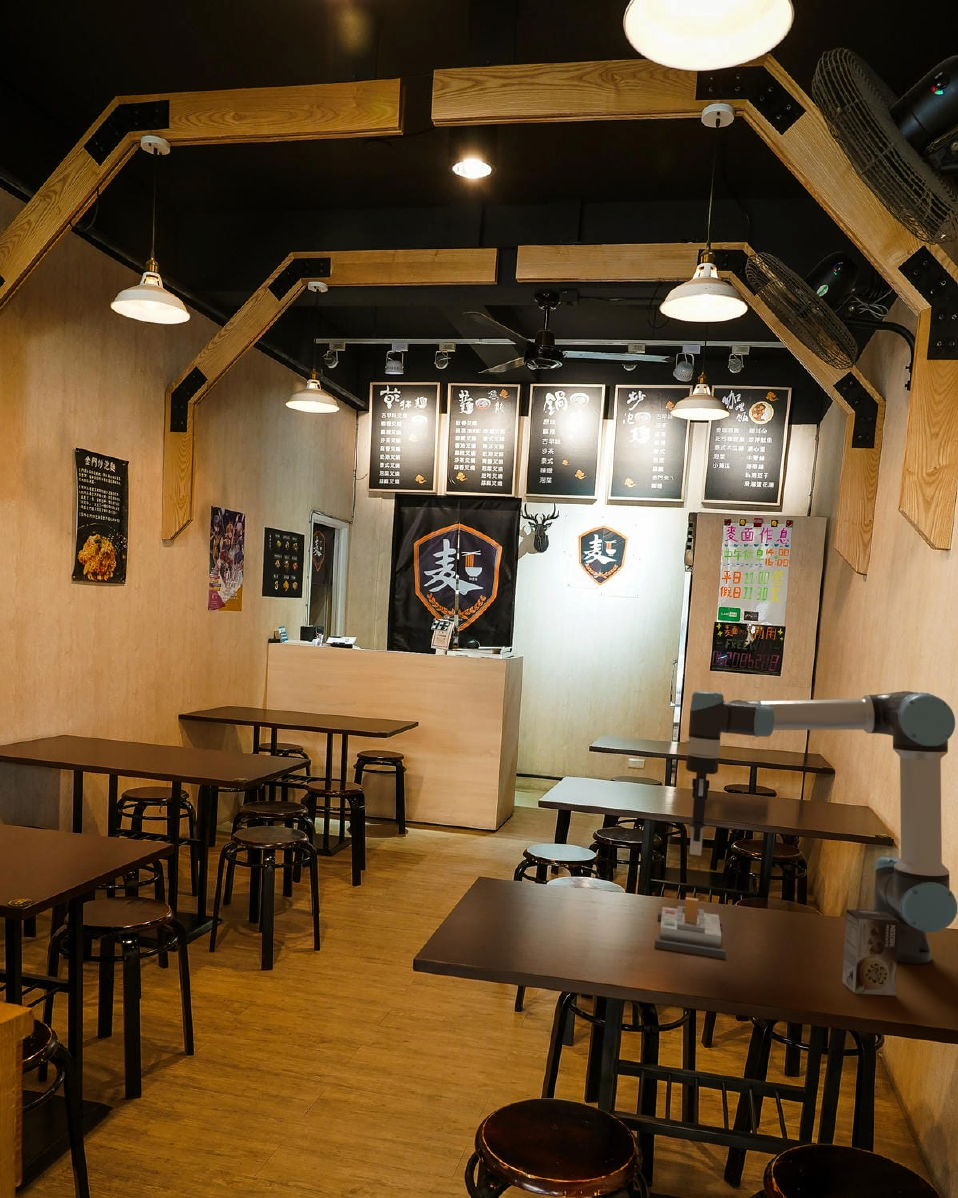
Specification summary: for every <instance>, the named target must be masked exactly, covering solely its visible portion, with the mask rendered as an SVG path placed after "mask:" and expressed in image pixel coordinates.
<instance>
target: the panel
mask: <svg viewBox="0 0 958 1198" xmlns="http://www.w3.org/2000/svg"><path fill="white" fill-rule="evenodd" d="M661 913H662V917H661V921H660V931H659V939H660V940H666V941H672V942H679V943H685V944H692V945H698V946H705V947H711V948H718V949H722V948H721V946H722V929H720V922H721V921H720V916H719V914H714V913H707V912H705V911H704V909H701V908H698V914H697V922H695V921H689V920H684V916H685V906H681V905H677V908H674V907H672V908H671V907H666V906H662V909H661Z"/></svg>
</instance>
